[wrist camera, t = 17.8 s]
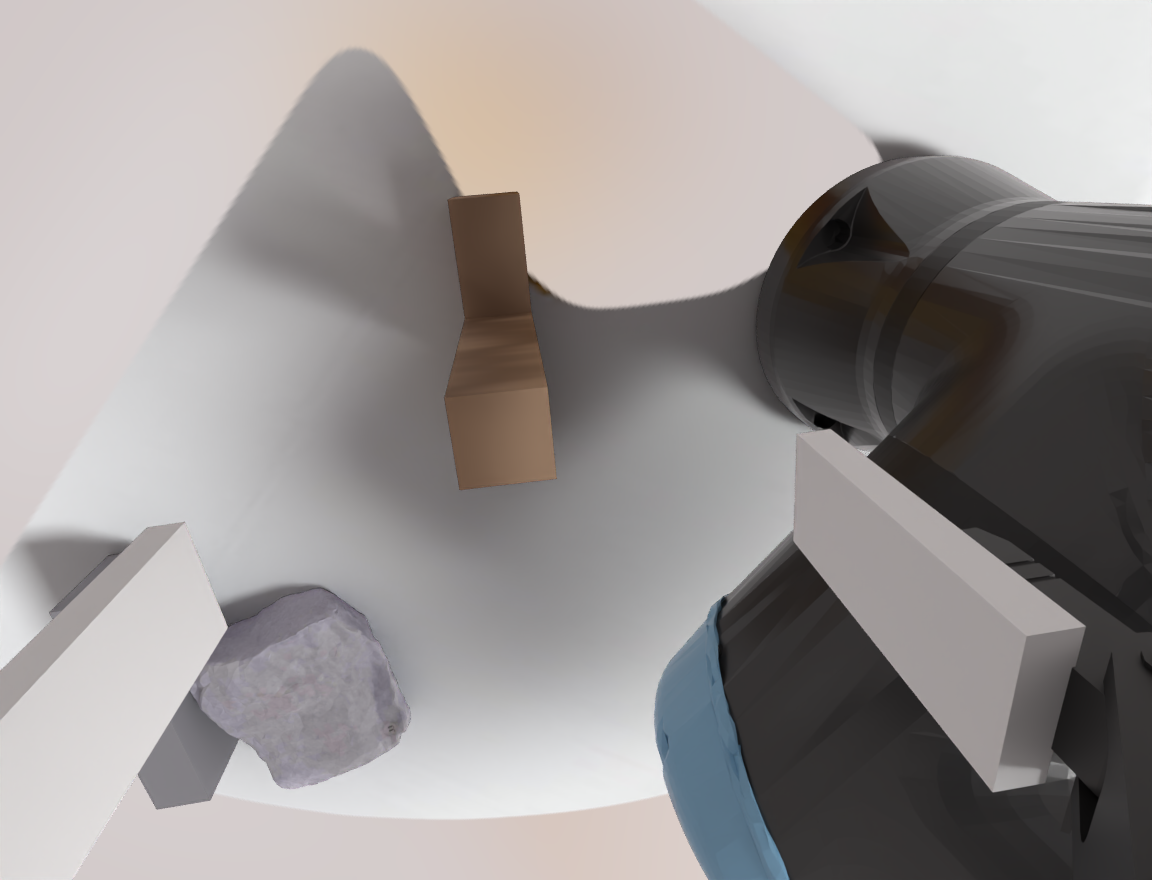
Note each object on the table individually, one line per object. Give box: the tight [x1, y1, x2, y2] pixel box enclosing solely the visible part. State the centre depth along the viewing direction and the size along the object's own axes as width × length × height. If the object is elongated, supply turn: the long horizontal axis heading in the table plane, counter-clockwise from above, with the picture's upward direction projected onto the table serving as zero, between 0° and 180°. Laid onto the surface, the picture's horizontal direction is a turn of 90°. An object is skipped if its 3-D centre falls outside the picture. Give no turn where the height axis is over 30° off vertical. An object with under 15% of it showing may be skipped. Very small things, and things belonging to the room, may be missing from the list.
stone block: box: [190, 588, 411, 789], centre depth 39 cm, size 12×5×10 cm
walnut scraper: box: [444, 192, 557, 490], centre depth 26 cm, size 3×13×15 cm, turn 4°
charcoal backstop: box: [49, 554, 239, 809], centre depth 36 cm, size 3×14×5 cm, turn 6°
